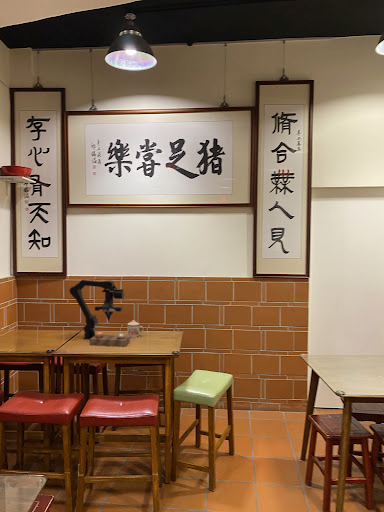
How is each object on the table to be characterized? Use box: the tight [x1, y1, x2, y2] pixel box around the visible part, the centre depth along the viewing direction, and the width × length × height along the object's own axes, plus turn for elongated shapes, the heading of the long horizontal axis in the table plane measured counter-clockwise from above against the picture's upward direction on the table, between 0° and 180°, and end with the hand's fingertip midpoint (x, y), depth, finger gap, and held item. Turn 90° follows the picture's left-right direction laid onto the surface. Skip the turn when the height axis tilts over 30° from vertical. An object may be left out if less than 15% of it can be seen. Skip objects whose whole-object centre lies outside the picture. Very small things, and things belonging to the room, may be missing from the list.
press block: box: [89, 334, 131, 348], centre depth 266 cm, size 24×12×4 cm, turn 83°
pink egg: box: [95, 331, 104, 338], centre depth 266 cm, size 5×5×6 cm
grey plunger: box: [116, 332, 126, 339], centre depth 265 cm, size 5×5×6 cm
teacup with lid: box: [126, 319, 144, 338], centre depth 288 cm, size 12×9×12 cm
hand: (108, 320), depth 278 cm, fingers closed
